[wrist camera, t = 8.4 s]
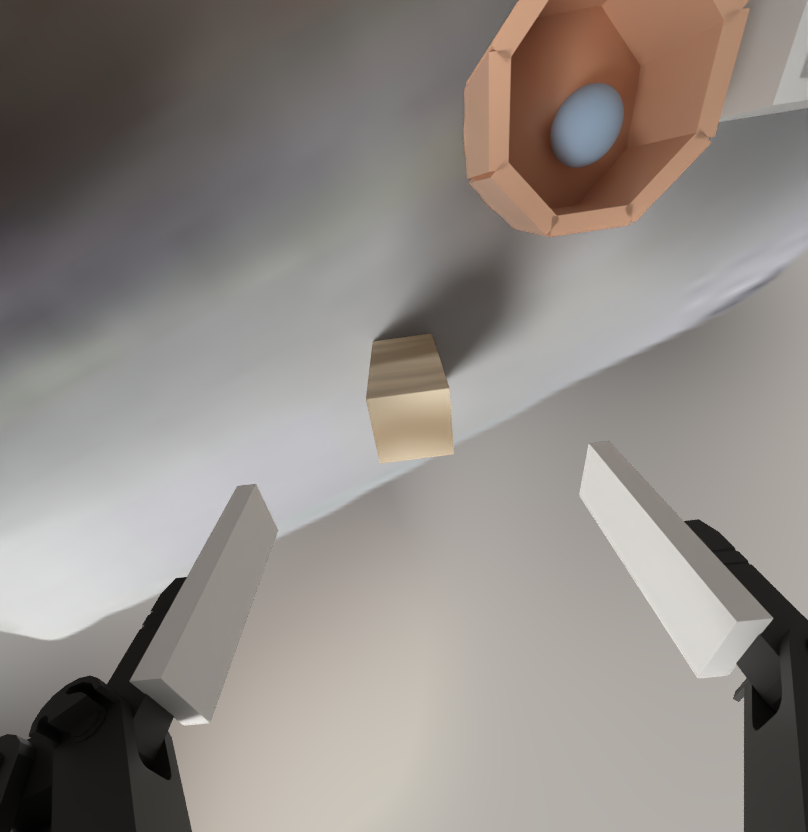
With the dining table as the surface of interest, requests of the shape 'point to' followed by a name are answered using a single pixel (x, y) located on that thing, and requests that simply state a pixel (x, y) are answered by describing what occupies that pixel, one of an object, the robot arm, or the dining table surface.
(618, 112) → the ball
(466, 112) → the terracotta cup
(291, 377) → the dining table surface
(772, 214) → the dining table surface
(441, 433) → the block
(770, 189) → the dining table surface
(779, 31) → the tray white
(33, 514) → the dining table surface
